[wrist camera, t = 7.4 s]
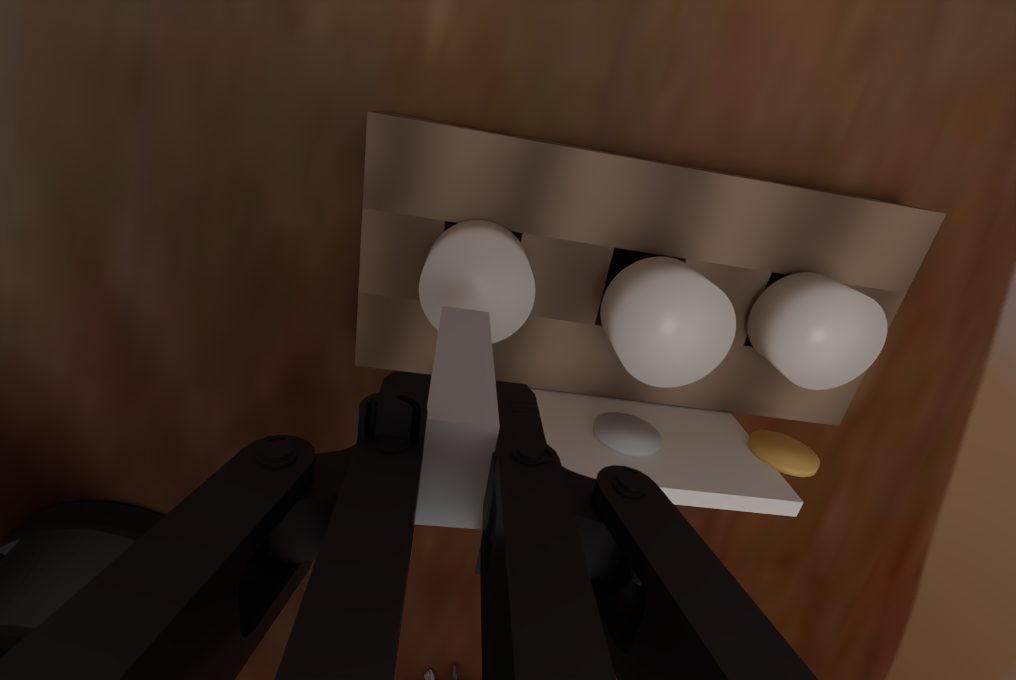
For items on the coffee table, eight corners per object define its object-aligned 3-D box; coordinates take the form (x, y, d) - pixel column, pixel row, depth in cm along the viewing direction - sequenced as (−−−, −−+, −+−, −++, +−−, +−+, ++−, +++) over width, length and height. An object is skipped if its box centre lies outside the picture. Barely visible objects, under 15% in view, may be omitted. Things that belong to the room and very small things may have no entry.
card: (434, 364, 29) (412, 477, 20) (436, 346, 29) (415, 454, 20) (744, 403, 32) (850, 522, 22) (751, 387, 31) (862, 501, 22)
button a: (427, 292, 27) (413, 337, 22) (437, 201, 25) (424, 226, 20) (516, 305, 28) (524, 352, 22) (532, 216, 26) (545, 244, 20)
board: (367, 341, 29) (354, 365, 26) (380, 111, 24) (367, 111, 21) (808, 398, 32) (839, 425, 29) (899, 203, 27) (946, 213, 24)
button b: (578, 325, 26) (603, 380, 21) (600, 233, 24) (634, 268, 19) (667, 337, 27) (713, 393, 21) (695, 249, 25) (753, 286, 20)
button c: (710, 332, 29) (763, 383, 23) (740, 249, 27) (804, 284, 21) (789, 343, 29) (858, 395, 24) (823, 263, 27) (906, 300, 22)
